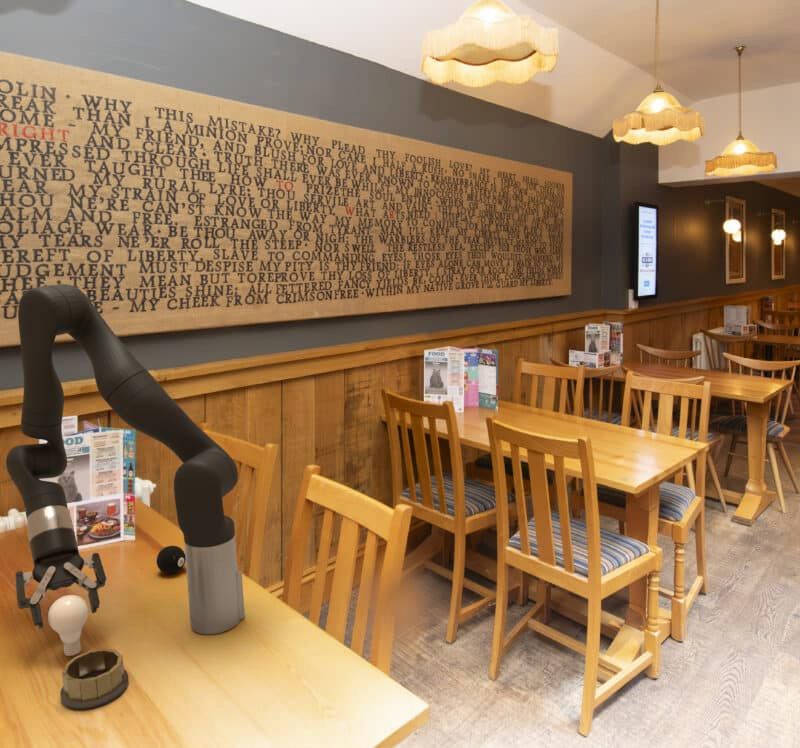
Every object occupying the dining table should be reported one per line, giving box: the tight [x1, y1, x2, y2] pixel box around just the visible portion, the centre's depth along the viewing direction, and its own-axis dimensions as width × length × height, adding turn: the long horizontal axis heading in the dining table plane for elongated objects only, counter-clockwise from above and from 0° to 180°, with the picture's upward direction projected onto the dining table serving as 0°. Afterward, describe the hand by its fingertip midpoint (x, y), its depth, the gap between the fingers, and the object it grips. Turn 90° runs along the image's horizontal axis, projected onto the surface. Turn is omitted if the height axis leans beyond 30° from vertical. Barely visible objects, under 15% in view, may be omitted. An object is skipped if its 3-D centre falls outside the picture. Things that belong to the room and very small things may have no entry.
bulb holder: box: [59, 648, 130, 711], centre depth 106 cm, size 10×10×4 cm
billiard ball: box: [156, 545, 186, 575], centre depth 146 cm, size 6×6×6 cm
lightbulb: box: [47, 594, 89, 657], centre depth 115 cm, size 6×6×11 cm
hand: (68, 618), depth 115 cm, fingers open, 8 cm apart
